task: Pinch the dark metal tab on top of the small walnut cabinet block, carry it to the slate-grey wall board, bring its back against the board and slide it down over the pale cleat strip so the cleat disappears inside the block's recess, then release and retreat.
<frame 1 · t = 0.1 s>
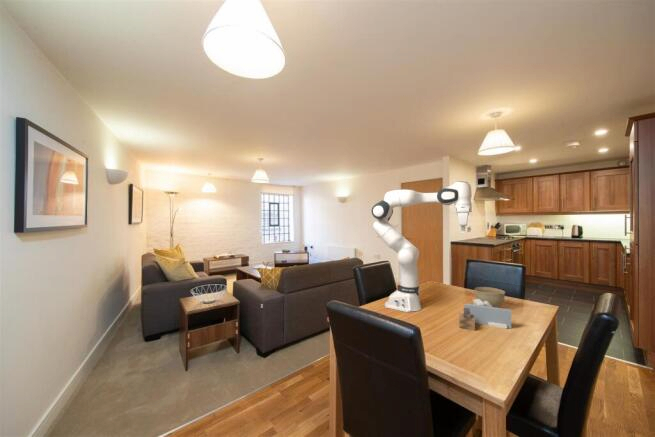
hand: (463, 233, 148), 48 cm above the table, fingers open, 8 cm apart
wall hook: (486, 315, 149), on the table
planter bowl: (489, 307, 161), on the table
cabinet: (466, 326, 134), on the table
wall board: (487, 323, 137), on the table
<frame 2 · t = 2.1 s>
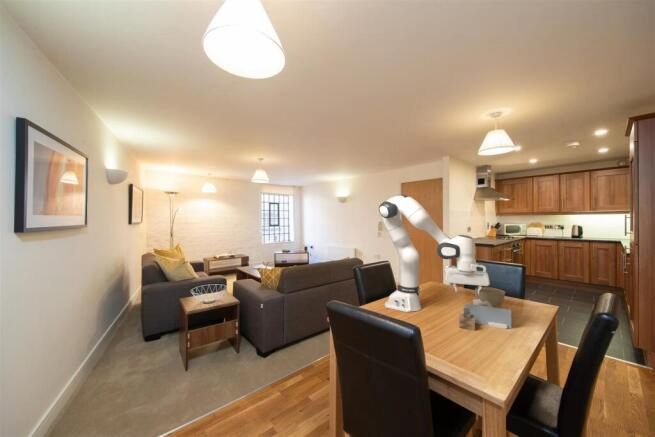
hand: (467, 292, 134), 18 cm above the table, fingers open, 8 cm apart
nothing on the table moved.
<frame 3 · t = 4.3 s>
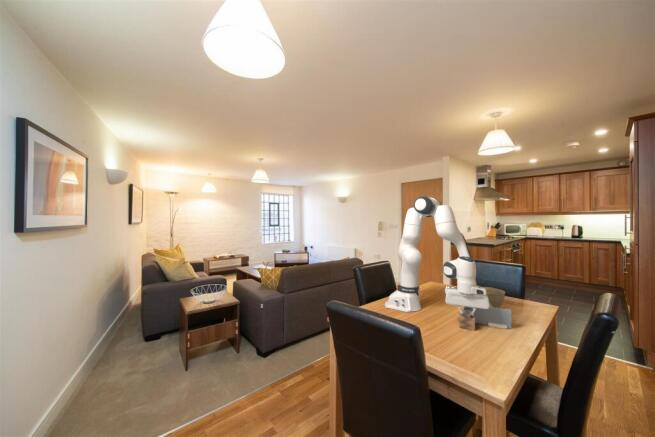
hand: (466, 314, 134), 6 cm above the table, fingers closed on cabinet, 3 cm apart
cabinet: (466, 326, 134), on the table, touching gripper
everything else where it was.
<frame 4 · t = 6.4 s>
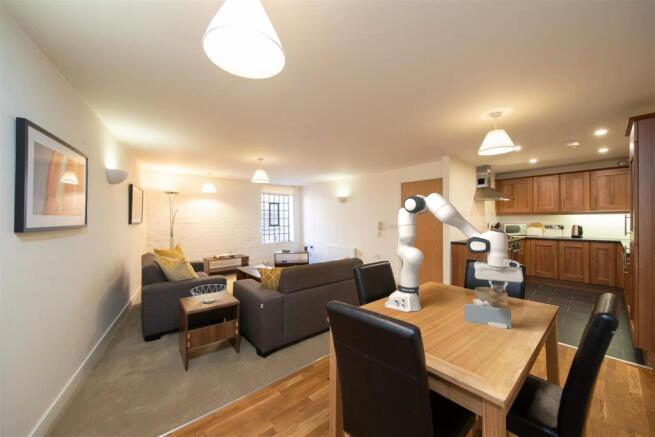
hand: (498, 289, 129), 21 cm above the table, fingers closed on cabinet, 3 cm apart
cabinet: (498, 302, 129), point 14 cm above the table, touching gripper
everything else where it was.
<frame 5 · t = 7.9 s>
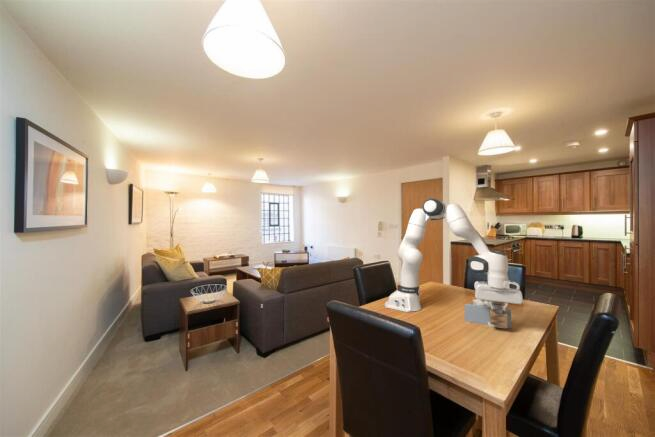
hand: (498, 309, 130), 10 cm above the table, fingers closed on cabinet, 3 cm apart
cabinet: (498, 322, 131), point 3 cm above the table, touching gripper
everything else where it was.
when the fingers open (7 cm above the table, at t = 9.0 s): cabinet stays where it is, on the table.
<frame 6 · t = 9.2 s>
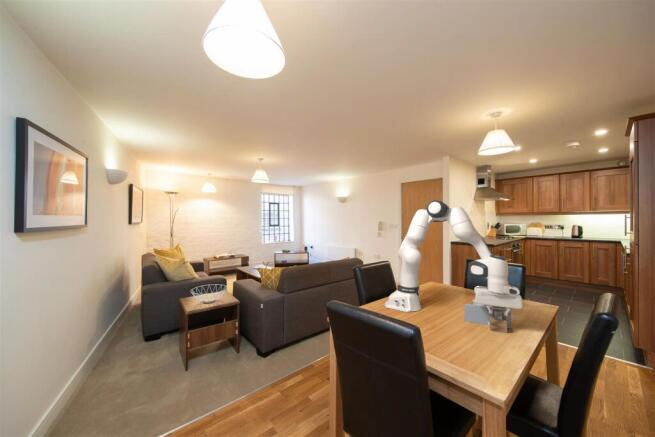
hand: (498, 314, 130), 7 cm above the table, fingers open, 5 cm apart
cabinet: (497, 329, 130), on the table
everything else where it was.
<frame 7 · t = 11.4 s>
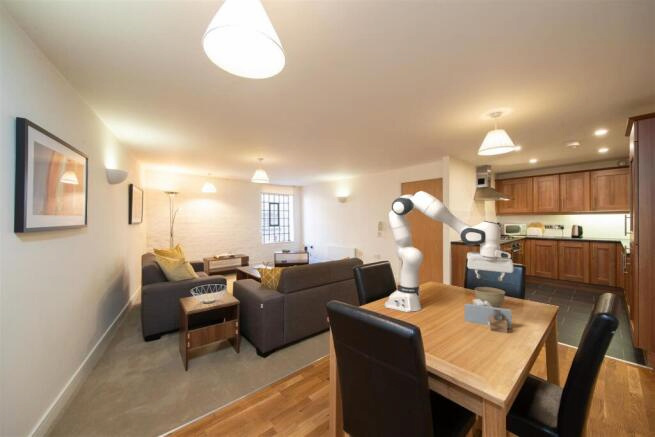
hand: (488, 279, 132), 25 cm above the table, fingers open, 8 cm apart
nothing on the table moved.
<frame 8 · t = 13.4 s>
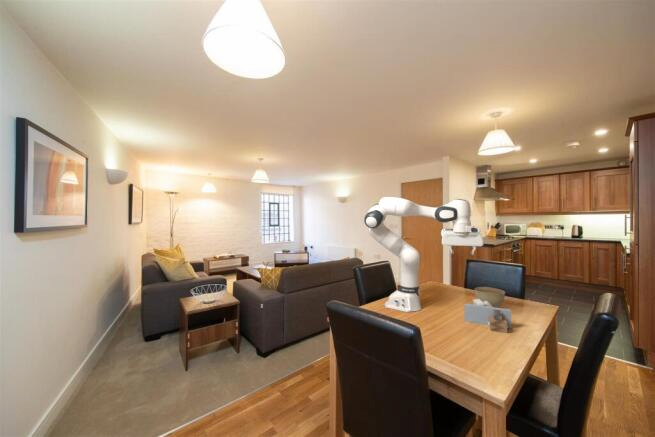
hand: (462, 254, 140), 37 cm above the table, fingers open, 8 cm apart
nothing on the table moved.
at the end: cabinet 0.8 cm from the target spot on the table beside the wall board, on the table; cabinet tilted 0°; the gripper is holding nothing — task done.
